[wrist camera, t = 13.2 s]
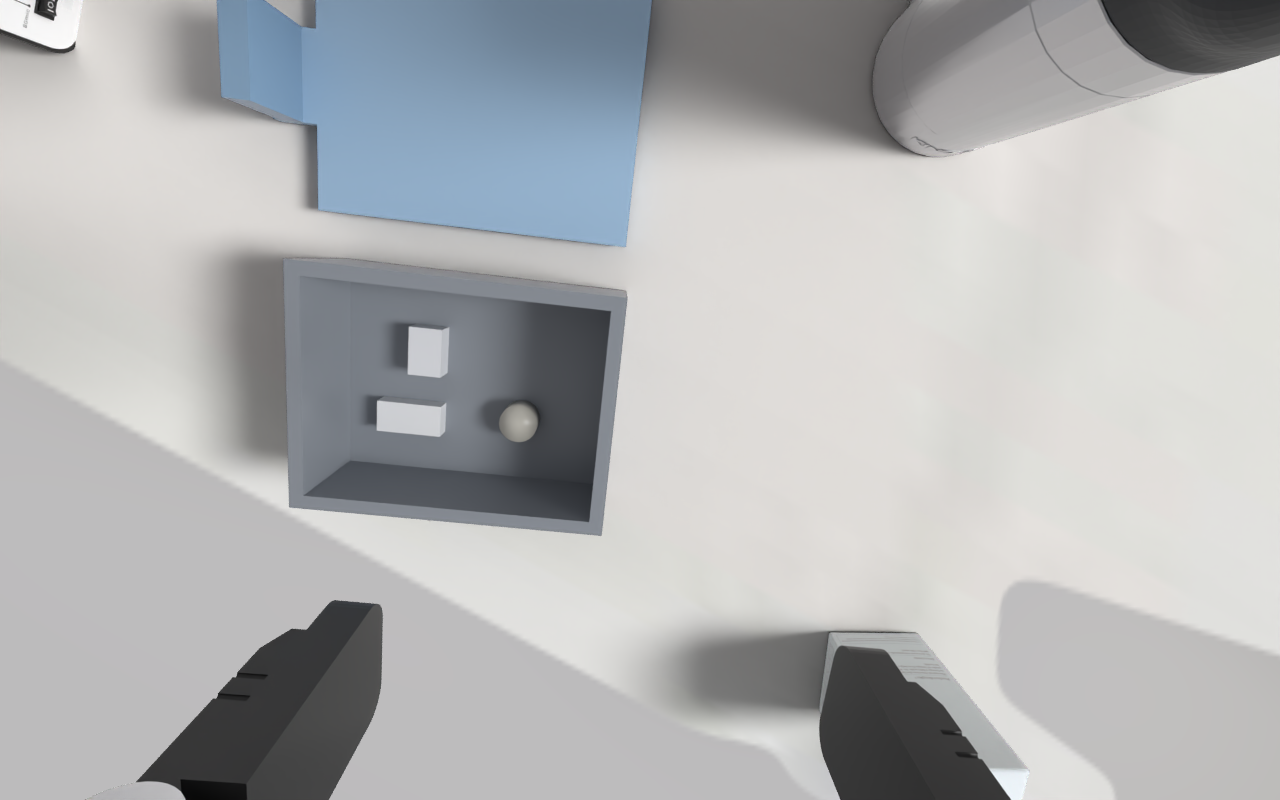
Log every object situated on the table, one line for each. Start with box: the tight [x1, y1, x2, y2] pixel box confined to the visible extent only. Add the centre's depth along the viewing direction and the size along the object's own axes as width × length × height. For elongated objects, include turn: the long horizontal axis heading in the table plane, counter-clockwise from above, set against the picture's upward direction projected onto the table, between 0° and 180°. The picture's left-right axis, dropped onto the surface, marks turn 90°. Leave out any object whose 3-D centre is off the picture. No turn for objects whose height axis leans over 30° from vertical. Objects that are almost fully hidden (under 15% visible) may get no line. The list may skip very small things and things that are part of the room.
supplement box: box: [819, 632, 1030, 800], centre depth 40 cm, size 7×7×13 cm
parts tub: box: [283, 258, 627, 536], centre depth 36 cm, size 14×18×7 cm
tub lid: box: [217, 0, 652, 247], centre depth 33 cm, size 15×21×7 cm
